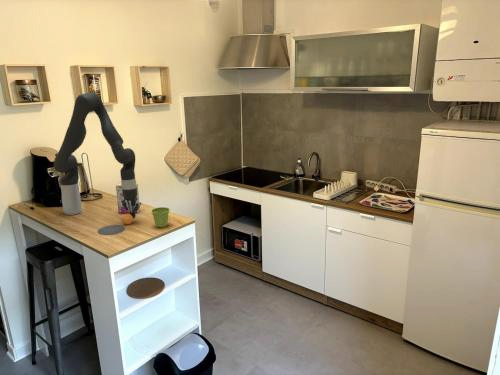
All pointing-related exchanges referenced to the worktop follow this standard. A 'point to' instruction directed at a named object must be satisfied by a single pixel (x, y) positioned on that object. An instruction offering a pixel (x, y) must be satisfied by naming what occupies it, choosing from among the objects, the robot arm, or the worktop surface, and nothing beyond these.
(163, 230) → the worktop surface
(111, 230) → the disc
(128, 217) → the ball
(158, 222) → the plant pot
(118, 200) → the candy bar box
